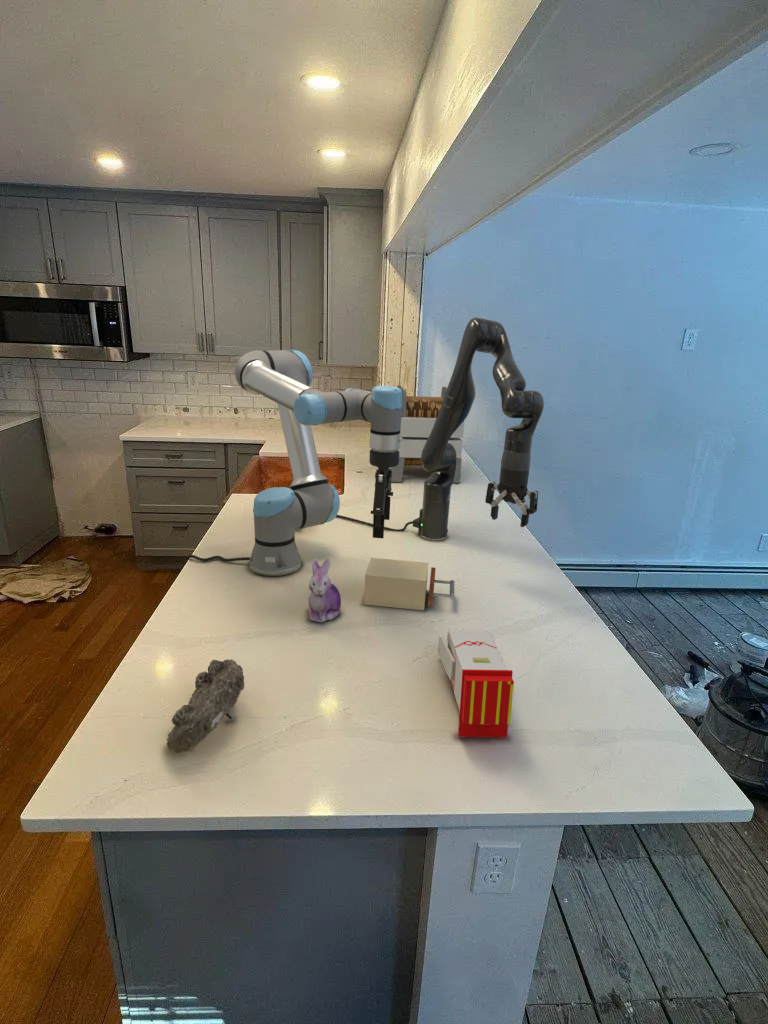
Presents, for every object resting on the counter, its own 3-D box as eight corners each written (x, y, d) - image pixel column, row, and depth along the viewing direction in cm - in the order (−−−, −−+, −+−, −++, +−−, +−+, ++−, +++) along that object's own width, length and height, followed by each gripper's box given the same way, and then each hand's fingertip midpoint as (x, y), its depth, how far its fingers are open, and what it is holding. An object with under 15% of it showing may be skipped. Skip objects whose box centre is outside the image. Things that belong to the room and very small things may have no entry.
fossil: (192, 660, 117) (244, 628, 112) (224, 691, 120) (276, 661, 115) (142, 746, 98) (202, 712, 93) (182, 779, 101) (242, 748, 96)
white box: (382, 463, 289) (386, 382, 275) (445, 464, 293) (451, 384, 279) (390, 482, 257) (394, 392, 243) (460, 483, 261) (468, 394, 247)
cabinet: (426, 590, 160) (428, 562, 157) (424, 610, 150) (426, 580, 147) (369, 585, 162) (371, 557, 159) (363, 604, 151) (365, 574, 148)
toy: (488, 613, 130) (523, 677, 101) (484, 667, 133) (517, 744, 104) (435, 612, 130) (455, 676, 101) (432, 666, 133) (451, 743, 103)
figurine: (314, 627, 139) (314, 572, 134) (300, 608, 148) (299, 555, 143) (349, 619, 143) (350, 565, 138) (333, 601, 152) (334, 550, 147)
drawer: (453, 591, 159) (455, 569, 156) (453, 608, 149) (455, 585, 147) (381, 584, 161) (382, 562, 158) (377, 601, 151) (378, 578, 149)
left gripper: (394, 462, 130) (390, 547, 137) (403, 439, 154) (399, 513, 161) (362, 460, 131) (359, 544, 138) (376, 438, 154) (373, 511, 162)
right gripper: (546, 468, 151) (538, 525, 156) (497, 458, 159) (491, 513, 164) (535, 473, 145) (527, 532, 150) (484, 463, 153) (479, 520, 158)
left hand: (381, 528), depth 150 cm, fingers open, 13 cm apart
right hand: (508, 522), depth 157 cm, fingers open, 8 cm apart
